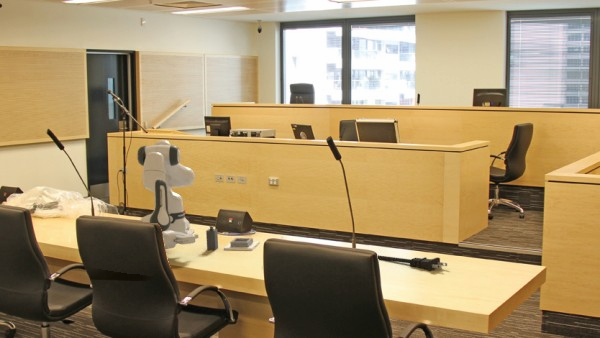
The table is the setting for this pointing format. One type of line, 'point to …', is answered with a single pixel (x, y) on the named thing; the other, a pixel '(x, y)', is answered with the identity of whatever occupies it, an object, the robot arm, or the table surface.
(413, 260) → the electrical plug
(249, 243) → the socket
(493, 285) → the table surface
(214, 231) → the dark grey square bottle
